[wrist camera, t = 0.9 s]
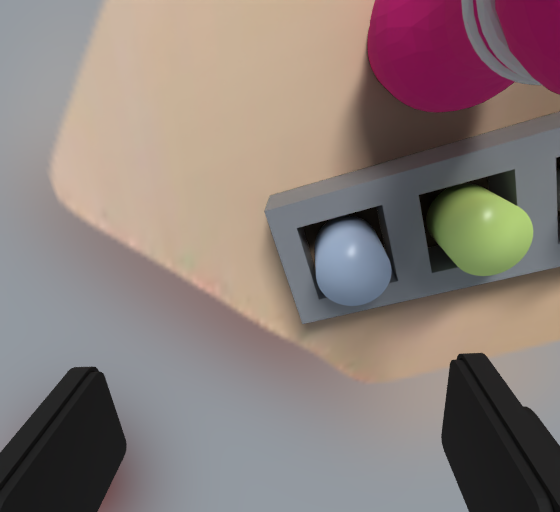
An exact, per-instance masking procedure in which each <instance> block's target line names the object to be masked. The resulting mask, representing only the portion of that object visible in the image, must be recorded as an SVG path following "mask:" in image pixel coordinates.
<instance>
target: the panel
mask: <svg viewBox="0 0 560 512" xmlns="http://www.w3.org/2000/svg"><path fill="white" fill-rule="evenodd" d="M557 157H560V111H559V112H556V113H553V114H549V115H546V116H542V117H539V118H535V119H532V120H528V121H525V122H522V123H518V124H515V125H511V126H508V127H504V128H501V129H498V130H494V131H491V132H487V133H484V134H480V135H477V136H473V137H470V138H467V139H463V140H460V141H456V142H453V143H449V144H446V145H443V146H439V147H436V148H432V149H429V150H425V151H422V152H418V153H415V154H412V155H408V156H405V157H401V158H398V159H394V160H391V161H388V162H384V163H381V164H377V165H374V166H370V167H367V168H364V169H360V170H357V171H353V172H350V173H346V174H343V175H339V176H336V177H333V178H329V179H326V180H322V181H319V182H315V183H312V184H309V185H305V186H302V187H298V188H295V189H291V190H288V191H284V192H281V193H278V194H274V195H271V196H270V197H269V200H268V202H267V205H266V208H265V214H266V217H267V220H268V223H269V226H270V229H271V232H272V235H273V238H274V241H275V244H276V247H277V250H278V253H279V256H280V259H281V262H282V265H283V268H284V271H285V274H286V277H287V280H288V283H289V286H290V288H291V291H292V294H293V297H294V300H295V303H296V306H297V309H298V312H299V315H300V318H301V321H302V324H305V323H309V322H314V321H318V320H323V319H327V318H332V317H336V316H341V315H345V314H350V313H354V312H359V311H363V310H368V309H372V308H377V307H381V306H386V305H390V304H395V303H399V302H403V301H408V300H412V299H417V298H421V297H426V296H430V295H435V294H439V293H444V292H448V291H453V290H457V289H462V288H466V287H471V286H475V285H480V284H484V283H489V282H493V281H498V280H502V279H507V278H511V277H515V276H520V275H524V274H529V273H533V272H538V271H542V270H547V269H551V268H556V267H560V215H559V216H557V180H556V158H557ZM487 176H488V186H489V191H490V192H492V193H494V194H496V195H498V196H500V197H501V198H503V199H505V200H507V201H509V202H511V203H512V204H514V205H516V206H518V207H520V208H521V209H523V210H524V211H525V212H526V213H527V215H528V216H529V218H530V220H531V222H532V225H533V239H532V243H531V245H530V248H529V250H528V251H527V253H526V254H525V256H524V257H523V258H522V259H521V260H520V261H519V262H518V263H517V264H516V265H514V266H513V267H511V268H510V269H508V270H506V271H504V272H502V273H499V274H496V275H491V276H476V275H472V274H469V273H466V272H464V271H463V270H461V269H460V268H459V267H458V266H457V265H456V264H455V263H454V262H453V261H452V259H451V258H450V257H449V256H448V255H447V254H446V252H445V251H444V250H443V249H442V248H441V247H440V246H439V245H437V246H433V247H429V248H427V242H426V236H425V230H424V224H423V218H422V213H421V207H420V201H419V195H421V194H424V193H428V192H432V191H435V190H439V189H443V188H446V187H450V186H454V185H457V184H461V183H465V182H468V181H472V180H476V179H480V178H483V177H487ZM373 207H376V210H377V214H378V219H379V223H380V228H381V233H382V237H383V242H384V246H385V251H386V254H387V256H388V258H389V260H390V264H391V278H390V282H389V284H388V286H387V288H386V289H385V291H384V292H383V293H382V294H381V295H380V296H379V297H377V298H376V299H375V300H373V301H371V302H369V303H366V304H363V305H358V306H346V305H341V304H338V303H336V302H333V301H332V300H330V299H329V298H327V297H326V296H325V295H324V294H323V293H322V291H321V290H320V288H319V286H318V283H317V279H316V269H315V266H314V262H313V259H312V256H311V252H310V249H309V246H308V242H307V239H306V236H305V232H304V229H303V226H306V225H310V224H314V223H317V222H321V221H325V220H328V219H332V218H336V217H339V216H343V215H347V214H350V213H354V212H358V211H362V210H365V209H369V208H373Z"/></svg>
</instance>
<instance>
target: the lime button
mask: <svg viewBox="0 0 560 512" xmlns="http://www.w3.org/2000/svg"><path fill="white" fill-rule="evenodd" d="M426 223H427V228H428V231H429V233H430V235H431V236H432V237H433V239H434V240H435V241H436V242H437V243H438V244H439V246H440V247H441V248H442V249H443V250H444V251H445V252H446V254H447V255H448V256H449V257H450V258H451V259H452V261H453V262H454V263H455V264H456V265H457V266H458V267H459V268H460V269H461V270H463V271H464V272H466V273H469V274H472V275H476V276H491V275H496V274H499V273H502V272H504V271H506V270H508V269H510V268H511V267H513V266H514V265H516V264H517V263H518V262H519V261H520V260H521V259H522V258H523V257H524V256H525V254H526V253H527V251H528V250H529V248H530V245H531V243H532V239H533V225H532V222H531V220H530V218H529V216H528V215H527V213H526V212H525V211H524V210H523V209H521V208H520V207H518V206H516V205H514V204H512V203H511V202H509V201H507V200H505V199H503V198H501V197H500V196H498V195H496V194H494V193H492V192H490V191H489V190H487V189H485V188H483V187H481V186H479V185H476V184H470V183H464V184H458V185H454V186H451V187H449V188H447V189H446V190H444V191H443V192H441V193H440V194H439V195H438V196H437V197H436V198H435V199H434V200H433V202H432V203H431V205H430V207H429V209H428V212H427V218H426Z"/></svg>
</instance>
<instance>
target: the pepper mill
mask: <svg viewBox="0 0 560 512" xmlns="http://www.w3.org/2000/svg"><path fill="white" fill-rule="evenodd" d="M367 45H368V57H369V61H370V65H371V68H372V70H373V72H374V74H375V76H376V77H377V79H378V81H379V82H380V83H381V84H382V85H383V86H384V87H385V88H386V89H387V90H388V91H389V92H390V93H391V94H392V95H393V96H394V97H395V98H397V99H398V100H400V101H401V102H402V103H404V104H406V105H408V106H410V107H412V108H414V109H418V110H422V111H426V112H450V111H457V110H461V109H466V108H470V107H473V106H475V105H478V104H480V103H483V102H485V101H486V100H488V99H490V98H492V97H493V96H495V95H497V94H498V93H500V92H502V91H503V90H504V89H506V88H507V87H508V86H510V85H511V84H513V83H514V82H519V83H523V84H530V85H543V86H545V87H546V88H547V89H549V90H550V91H552V92H555V93H557V94H559V95H560V0H375V3H374V6H373V11H372V15H371V20H370V27H369V31H368V44H367Z"/></svg>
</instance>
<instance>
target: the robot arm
mask: <svg viewBox="0 0 560 512" xmlns="http://www.w3.org/2000/svg"><path fill="white" fill-rule="evenodd" d="M441 438H442V445H443V448H444V452H445V454H446V456H447V459H448V461H449V463H450V466H451V469H452V471H453V473H454V476H455V478H456V481H457V483H458V486H459V488H460V491H461V493H462V495H463V498H464V500H465V503H466V505H467V508H468V510H469V512H560V446H559V444H558V443H557V442H556V441H555V439H554V438H553V437H552V435H551V434H550V432H549V431H548V430H547V428H546V427H545V426H544V424H543V423H542V422H541V421H540V419H539V418H538V416H537V415H536V414H535V413H534V412H533V411H532V410H531V409H530V408H528V407H523V406H522V405H521V403H520V402H519V401H518V399H517V398H516V396H515V395H514V394H513V392H512V391H511V390H510V388H509V387H508V385H507V384H506V383H505V381H504V380H503V379H502V377H501V376H500V374H499V373H498V372H497V370H496V369H495V367H494V366H493V365H492V363H491V362H490V360H489V359H488V358H487V356H486V355H485V354H483V353H469V354H459V355H458V356H457V360H452V361H451V363H450V369H449V377H448V385H447V394H446V402H445V410H444V419H443V427H442V437H441ZM125 452H126V439H125V436H124V433H123V430H122V427H121V424H120V421H119V418H118V415H117V412H116V409H115V406H114V403H113V400H112V397H111V394H110V391H109V388H108V385H107V382H106V379H105V376H104V374H103V373H102V372H99V371H98V369H97V368H96V367H74V368H72V369H70V370H69V371H68V372H67V374H66V375H65V376H64V377H63V378H62V380H61V381H60V382H59V383H58V384H57V386H56V387H55V388H54V389H53V390H52V391H51V393H50V394H49V395H48V396H47V398H46V399H45V400H44V401H43V402H42V403H41V405H40V406H39V407H38V408H37V409H36V411H35V412H34V413H33V414H32V415H31V417H30V418H29V419H28V420H27V421H26V423H25V424H24V425H23V426H22V427H21V429H20V430H19V431H18V432H17V433H16V435H15V436H14V437H13V438H12V439H11V441H10V442H9V443H8V444H7V445H6V446H5V448H4V449H3V450H2V452H0V512H97V511H98V509H99V507H100V505H101V503H102V501H103V499H104V497H105V495H106V493H107V490H108V489H109V487H110V484H111V482H112V480H113V478H114V476H115V474H116V472H117V470H118V468H119V466H120V464H121V461H122V460H123V458H124V455H125Z"/></svg>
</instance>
